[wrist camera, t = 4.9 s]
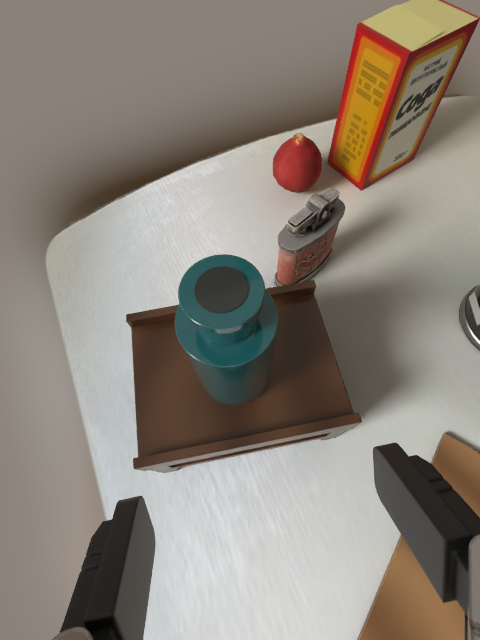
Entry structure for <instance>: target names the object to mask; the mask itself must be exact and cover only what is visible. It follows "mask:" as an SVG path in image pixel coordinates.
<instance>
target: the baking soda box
mask: <svg viewBox="0 0 480 640" xmlns="http://www.w3.org/2000/svg"><path fill="white" fill-rule="evenodd" d="M479 19H480V17H478V16H476V15H473V14H471V13H469V12H467V11H465V10H463V9H461V8H458V7H456V6H454V5H452V4H450V3H447V2H445V1H443V0H410V1H408V2H405V3H403V4H401V5H395V6H393V7H391V8H389V9H387V10H385V11H383V12H381V13H379V14H377V15H375V16H373V17H371V18H369V19H367V20H365V21H363V22H361V23H359V24H357V29H356V34H355V38H354V43H353V47H352V52H351V57H350V61H349V66H348V70H347V75H346V79H345V84H344V89H343V94H342V98H341V102H340V107H339V112H338V117H337V121H336V126H335V130H334V135H333V139H332V144H331V149H330V153H329V158H328V162H327V163H328V164H330V165H331V166H332V167H333V168H334V169H336V170H337V171H338V172H339V173H341V174H342V175H343V176H344V177H345V178H347V179H348V180H349V181H350V182H351V183H353V184H354V185H355V186H356V187H358V188H359V189H360V190H363V189H365V188H366V187H368V186H370V185H371V184H373V183H375V182H376V181H378V180H380V179H381V178H383V177H385V176H386V175H388V174H390V173H391V172H393V171H395V170H396V169H398V168H400V167H401V166H403V165H405V164H406V163H408V162H410V161H411V160H413V159H414V157H415V155H416V153H417V150H418V148H419V146H420V144H421V142H422V140H423V138H424V136H425V134H426V131H427V129H428V127H429V125H430V123H431V121H432V119H433V117H434V115H435V112H436V110H437V108H438V106H439V104H440V102H441V100H442V98H443V96H444V93H445V91H446V89H447V87H448V85H449V83H450V80H451V79H452V77H453V74H454V72H455V70H456V68H457V66H458V64H459V62H460V59H461V58H462V55H463V53H464V51H465V49H466V47H467V45H468V43H469V41H470V38H471V36H472V34H473V32H474V30H475V28H476V26H477V24H478V21H479Z"/></svg>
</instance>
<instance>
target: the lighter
mask: <svg viewBox="0 0 480 640" xmlns="http://www.w3.org/2000/svg"><path fill="white" fill-rule="evenodd" d="M339 193H340V192H339V191H338V190H337V189H335V188H329V189H327V190H326V191H325V192H323V193H322V194H321V195H320V196H319V195H317V194H314V195H313V196H312V197H311V198H310V199H309V201H308V203H307V204H306V206H305V207H304V208H303V209H302V210H301V211H299V212H298V213H297V214H295V215H294V216H293V217H292V218H290V219H289V220H288V224H287V225H286V226H285V227H284V228H283V229H282V231H281V232H280V233H279V235H278V245H279V256H278V267H277V272H276V274H275V284H276V286H277V287H278V286H284V285H289V284H295V283H300V282H305V281H308V280H310V279H311V278H312V277H314V276H315V275H316V274H317V273H318V272H319V271H320V270H321V269H322V268H323V266H324V265H325V264H326V262H327V261H328V260H329V258H330V256H331V253H332V248H331V247H332V244H333V240H334V237H335V234H336V231H337V227H338V224H339V221H340V220H341V218H342V217H343V214H344V211H345V205H344V203H343V202H342V201H341V200H339V199H338V197H339Z"/></svg>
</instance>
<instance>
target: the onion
mask: <svg viewBox="0 0 480 640" xmlns="http://www.w3.org/2000/svg"><path fill="white" fill-rule="evenodd" d="M321 166H322V157H321V153H320V151H319V149H318V148H317V146H316V145H315V143H314V142H313V141H312V140H310V139H308V138H306V137H305V136H304V135H303V134H302V133H297V134H296V135H294V137H293V138H291V139H289V140H287V141H286V142H285V143H283V144H282V145H281V146H280V148H279V150H278V151H277V153H276V154H275V156H274V159H273V175H274V177H275V179H276V180H277V182H278V184H279V185H280V186H282V187H283V188H284V189H286V190H289V191H291V192H301V191H305V190H307V189H308V188H310V187H311V186H312V185H313V184H314V183H315V182H316V181H317V179H318V177H319V175H320V173H321Z"/></svg>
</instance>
